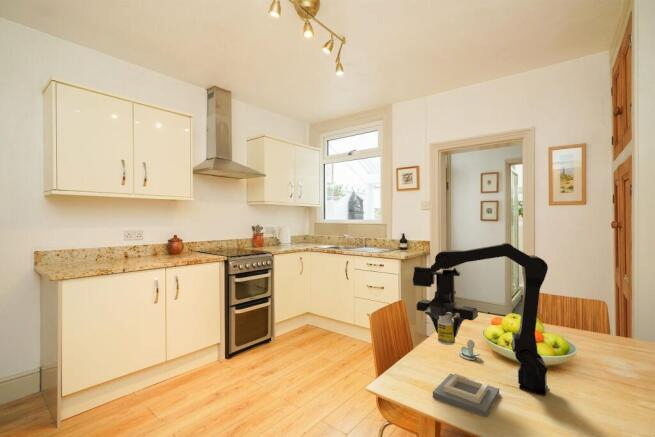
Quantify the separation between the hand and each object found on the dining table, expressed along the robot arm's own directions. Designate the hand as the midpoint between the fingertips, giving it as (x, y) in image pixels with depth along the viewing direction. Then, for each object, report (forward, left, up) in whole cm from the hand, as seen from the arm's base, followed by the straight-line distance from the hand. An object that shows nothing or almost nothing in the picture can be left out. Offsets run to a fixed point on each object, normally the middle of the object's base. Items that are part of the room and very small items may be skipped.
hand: (446, 334), depth 103 cm
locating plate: (-9, +11, -12) cm, 19 cm away
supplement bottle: (0, 0, -3) cm, 3 cm away
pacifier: (-2, -17, -13) cm, 21 cm away
